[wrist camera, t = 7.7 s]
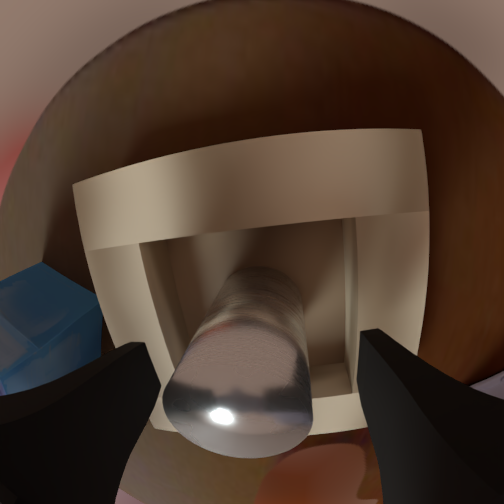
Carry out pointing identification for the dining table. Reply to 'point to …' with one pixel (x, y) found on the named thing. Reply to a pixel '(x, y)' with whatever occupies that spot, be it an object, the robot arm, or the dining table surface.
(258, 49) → the dining table surface
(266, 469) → the dining table surface
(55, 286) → the perfume bottle
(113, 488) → the robot arm
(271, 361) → the metal pin
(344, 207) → the socket block
